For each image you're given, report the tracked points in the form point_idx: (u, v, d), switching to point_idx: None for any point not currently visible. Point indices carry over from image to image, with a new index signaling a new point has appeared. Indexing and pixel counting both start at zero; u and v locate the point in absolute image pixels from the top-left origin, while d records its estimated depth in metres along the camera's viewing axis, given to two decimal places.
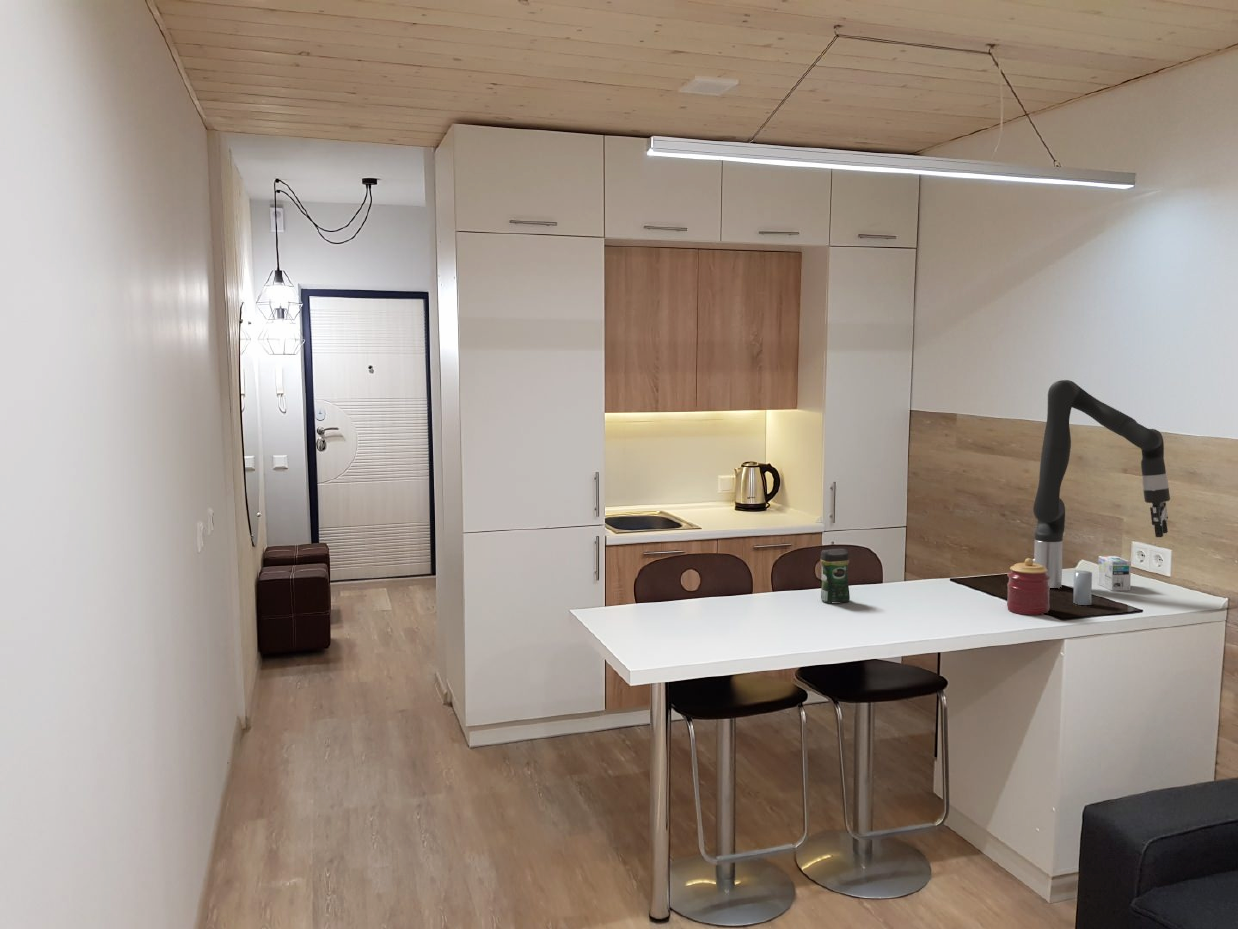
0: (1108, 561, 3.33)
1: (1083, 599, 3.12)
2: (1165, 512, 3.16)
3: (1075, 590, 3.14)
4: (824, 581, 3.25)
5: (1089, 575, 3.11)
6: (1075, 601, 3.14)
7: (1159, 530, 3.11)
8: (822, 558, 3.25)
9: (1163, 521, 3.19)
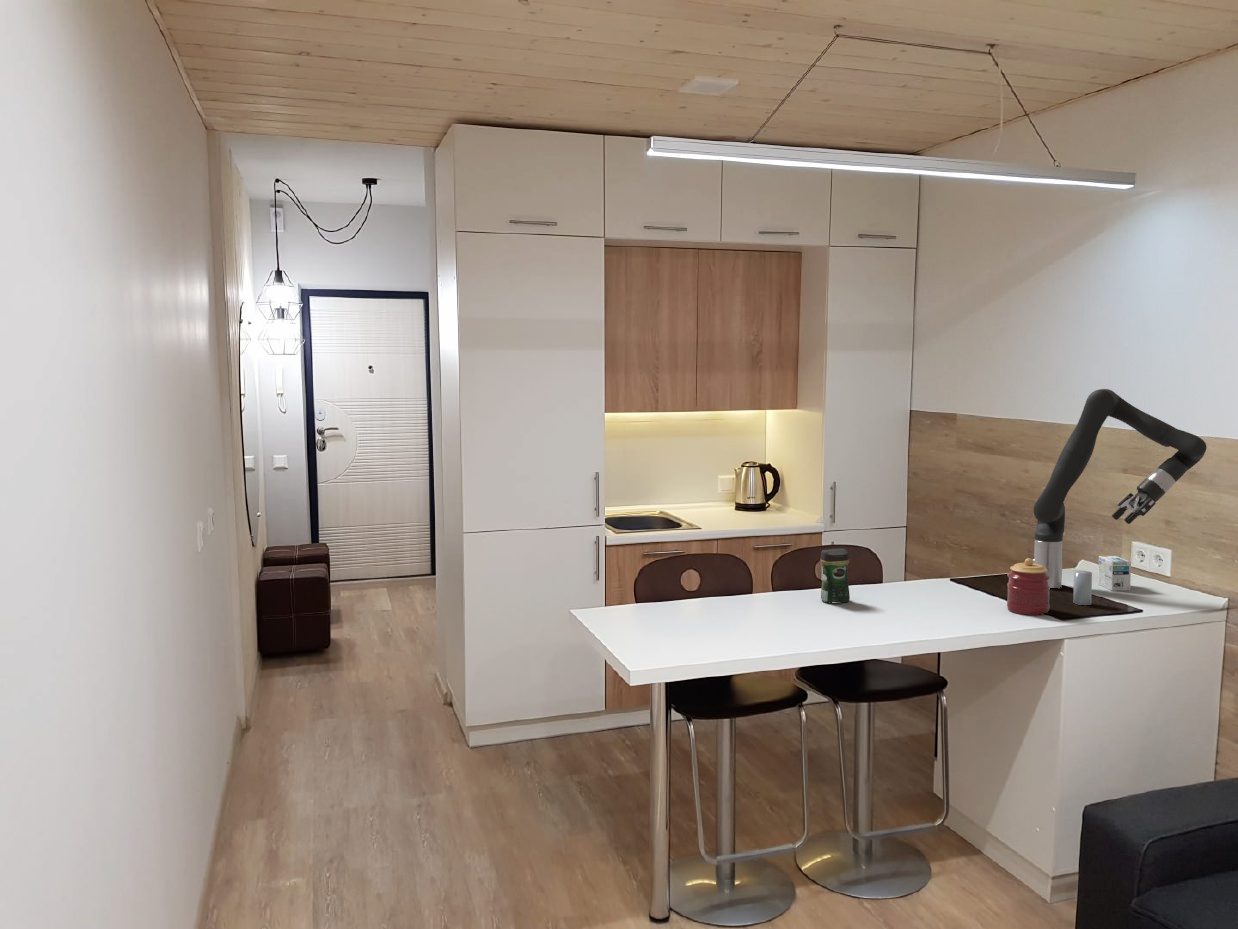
0: (1108, 561, 3.33)
1: (1083, 599, 3.12)
2: None
3: (1075, 590, 3.14)
4: (824, 581, 3.25)
5: (1089, 575, 3.11)
6: (1075, 601, 3.14)
7: (1133, 518, 3.06)
8: (822, 558, 3.25)
9: (1123, 510, 3.15)
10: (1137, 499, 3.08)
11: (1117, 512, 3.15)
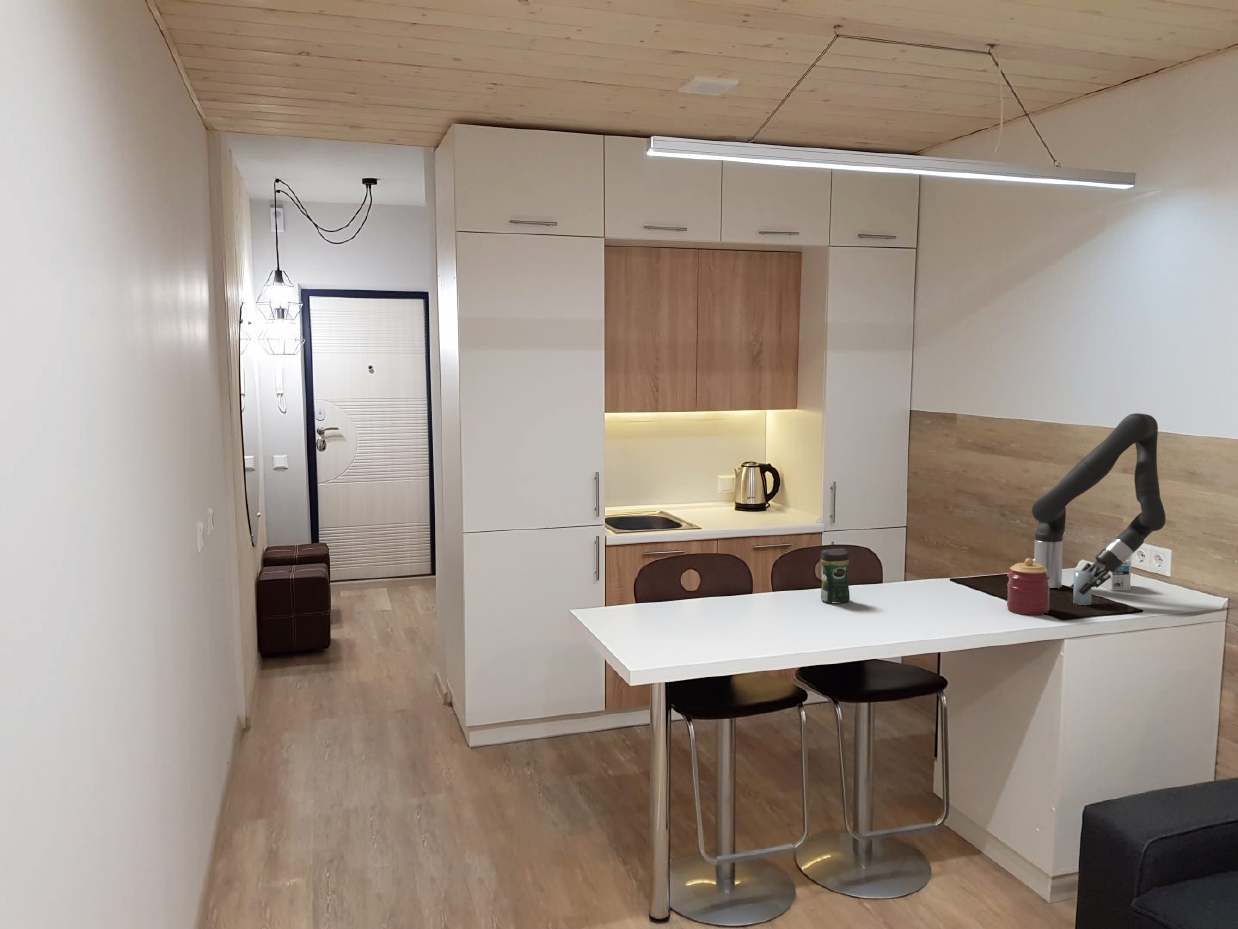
0: None
1: (1082, 599, 3.12)
2: None
3: (1075, 590, 3.14)
4: (824, 581, 3.25)
5: (1089, 575, 3.11)
6: (1075, 601, 3.14)
7: (1088, 589, 3.10)
8: (822, 558, 3.25)
9: None
10: (1094, 569, 3.11)
11: None
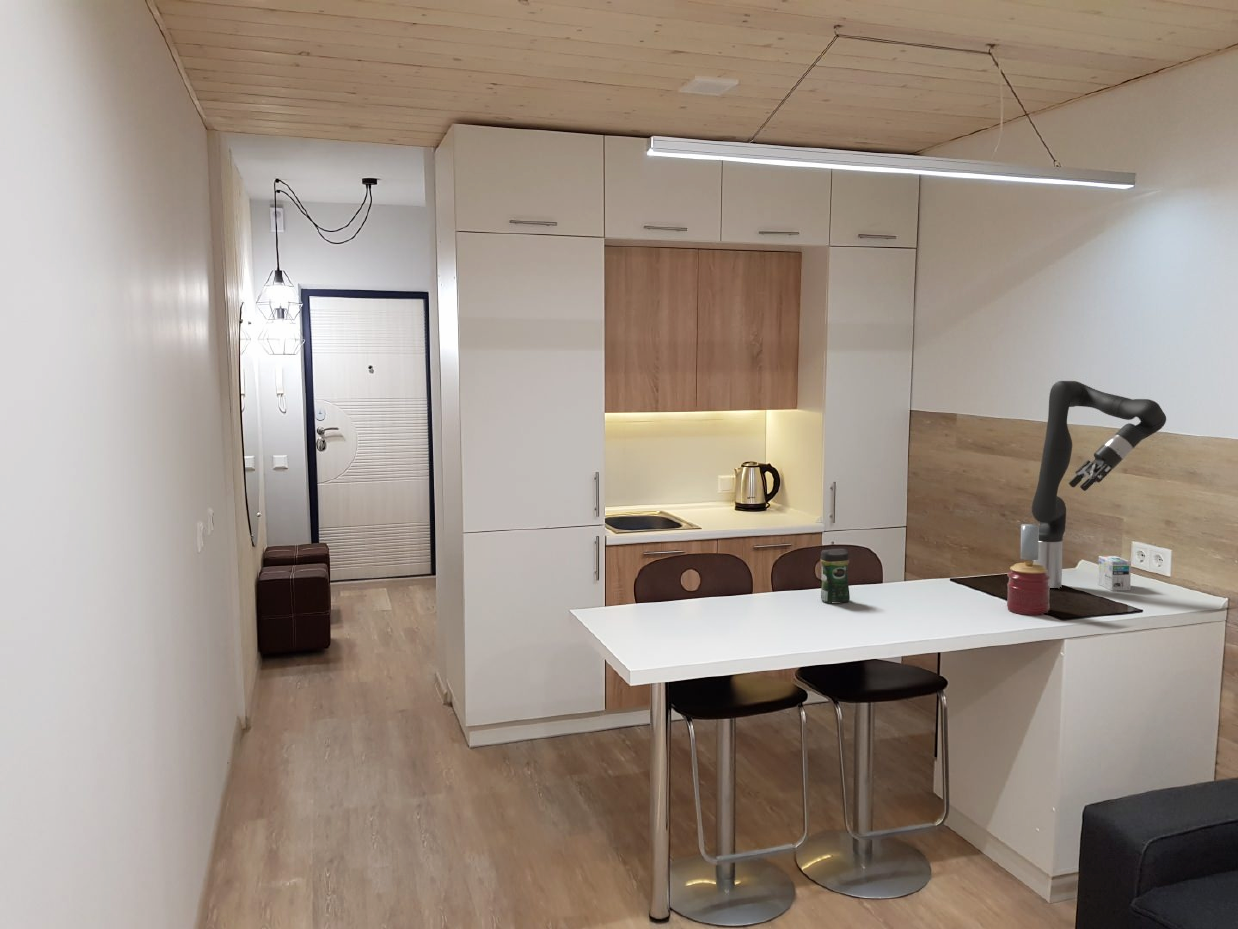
0: (1108, 561, 3.33)
1: (1029, 553, 3.04)
2: None
3: (1022, 544, 3.06)
4: (824, 581, 3.25)
5: (1036, 528, 3.03)
6: (1022, 555, 3.06)
7: (1089, 485, 3.00)
8: (822, 558, 3.25)
9: (1080, 477, 3.09)
10: (1094, 466, 3.02)
11: (1074, 479, 3.09)
